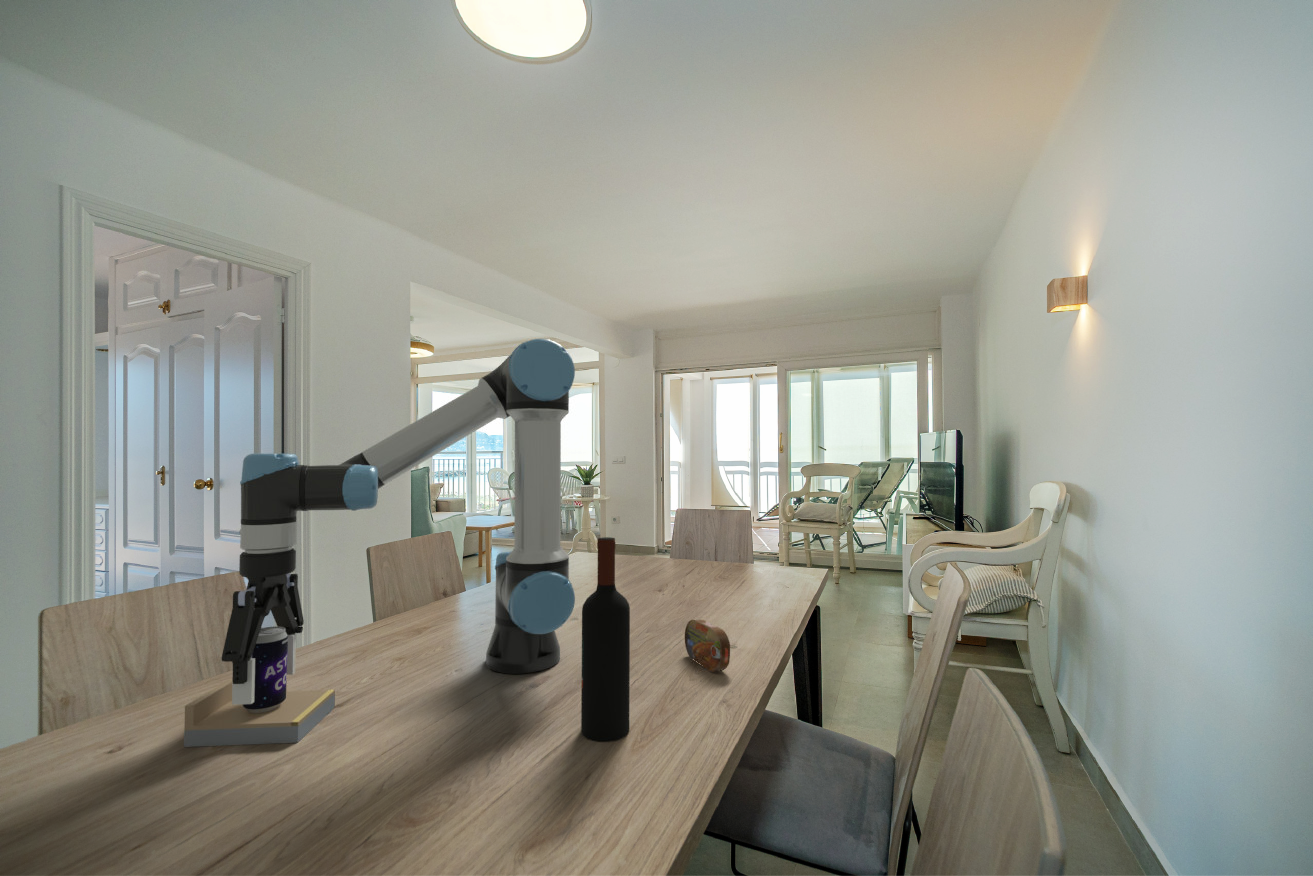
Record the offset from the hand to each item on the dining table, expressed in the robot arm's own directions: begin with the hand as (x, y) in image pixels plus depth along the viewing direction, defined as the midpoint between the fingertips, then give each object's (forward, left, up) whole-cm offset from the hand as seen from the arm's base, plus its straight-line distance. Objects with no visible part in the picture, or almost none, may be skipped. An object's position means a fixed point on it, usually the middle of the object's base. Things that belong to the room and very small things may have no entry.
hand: (265, 688), depth 93 cm
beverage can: (0, 0, -3) cm, 3 cm away
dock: (0, 0, -6) cm, 6 cm away
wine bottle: (-54, +6, -6) cm, 55 cm away
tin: (-75, -21, -6) cm, 78 cm away
